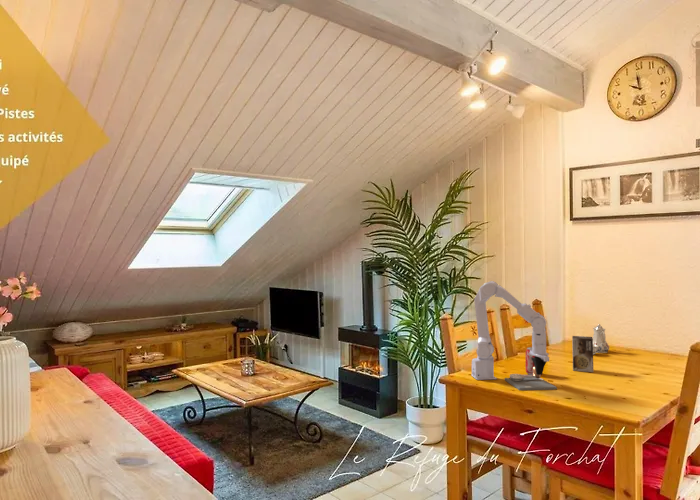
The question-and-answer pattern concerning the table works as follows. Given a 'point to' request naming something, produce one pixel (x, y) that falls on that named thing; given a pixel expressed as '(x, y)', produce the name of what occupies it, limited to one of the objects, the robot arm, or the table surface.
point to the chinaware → (599, 340)
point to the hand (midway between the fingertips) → (539, 374)
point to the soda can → (529, 361)
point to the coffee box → (582, 353)
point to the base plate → (531, 384)
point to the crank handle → (520, 377)
